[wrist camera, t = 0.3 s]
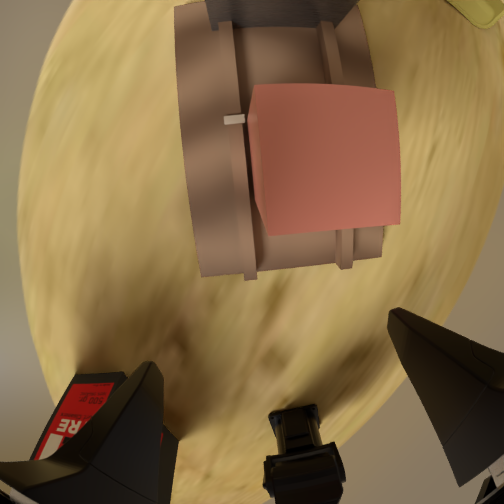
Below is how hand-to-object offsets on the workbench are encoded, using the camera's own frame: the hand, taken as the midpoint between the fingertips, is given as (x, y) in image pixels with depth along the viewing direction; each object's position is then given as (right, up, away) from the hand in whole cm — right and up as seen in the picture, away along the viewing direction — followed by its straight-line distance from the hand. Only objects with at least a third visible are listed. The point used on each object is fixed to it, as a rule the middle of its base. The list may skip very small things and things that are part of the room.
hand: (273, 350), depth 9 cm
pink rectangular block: (+2, +10, +10) cm, 15 cm away
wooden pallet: (+2, +14, +11) cm, 18 cm away
